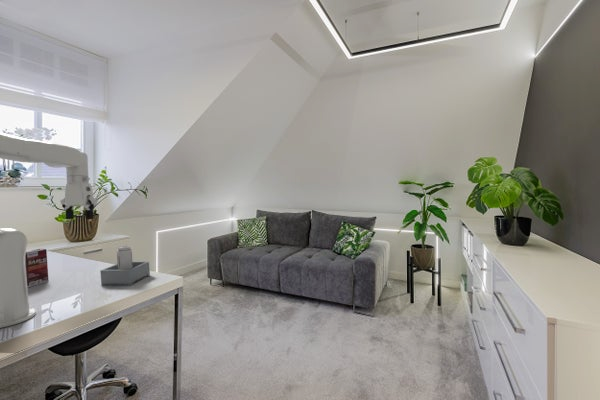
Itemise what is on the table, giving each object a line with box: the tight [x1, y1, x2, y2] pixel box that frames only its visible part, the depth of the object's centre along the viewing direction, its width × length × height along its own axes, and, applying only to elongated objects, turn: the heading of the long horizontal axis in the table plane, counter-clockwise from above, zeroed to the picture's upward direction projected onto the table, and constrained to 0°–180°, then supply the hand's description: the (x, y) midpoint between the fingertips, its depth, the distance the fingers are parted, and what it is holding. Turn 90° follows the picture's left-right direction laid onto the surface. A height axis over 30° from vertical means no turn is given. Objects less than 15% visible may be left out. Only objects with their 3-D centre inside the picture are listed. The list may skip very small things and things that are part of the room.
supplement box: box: [25, 248, 49, 288], centre depth 130 cm, size 9×5×16 cm, turn 168°
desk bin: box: [100, 261, 151, 287], centre depth 132 cm, size 14×14×7 cm
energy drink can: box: [116, 245, 133, 270], centre depth 132 cm, size 6×6×15 cm
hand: (79, 219), depth 122 cm, fingers open, 9 cm apart
